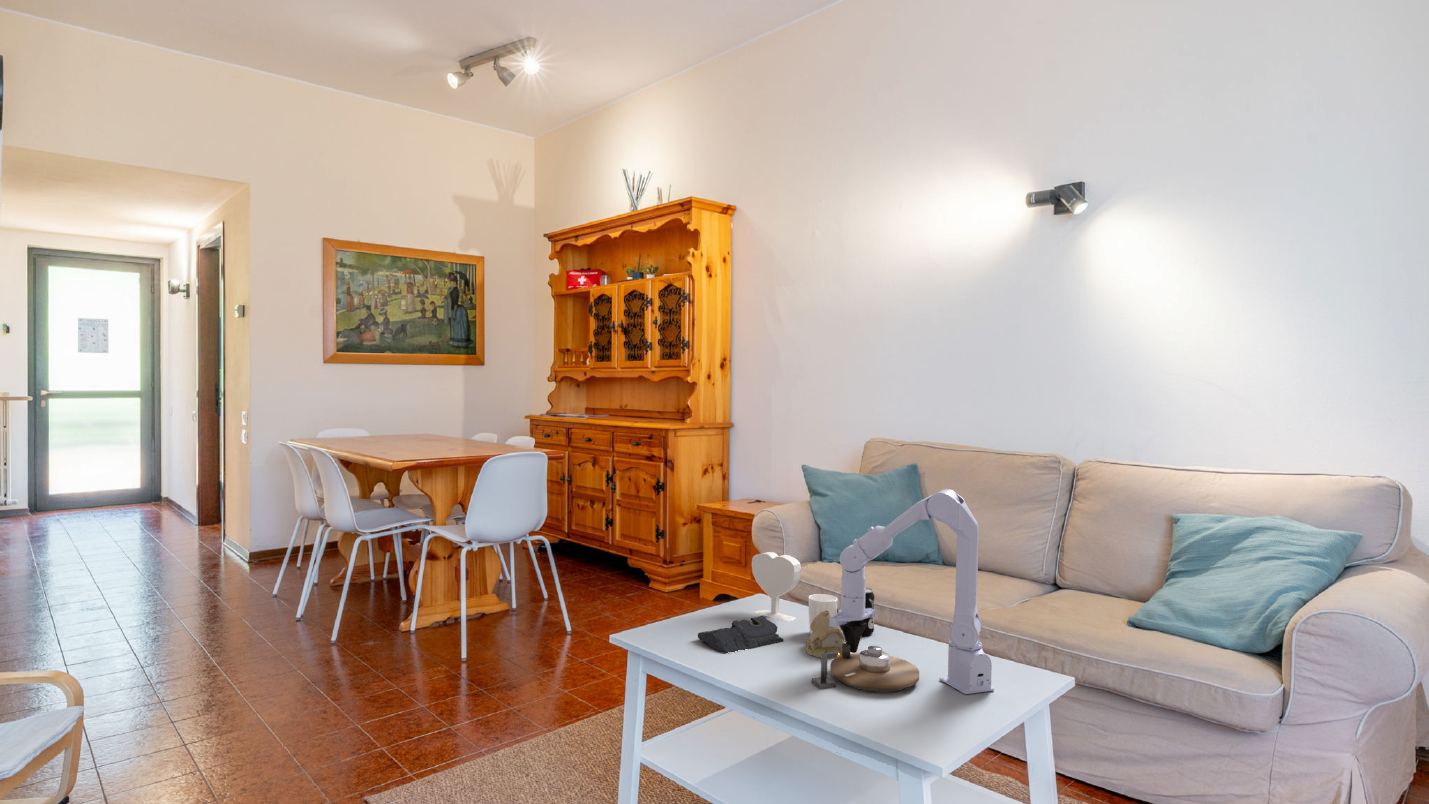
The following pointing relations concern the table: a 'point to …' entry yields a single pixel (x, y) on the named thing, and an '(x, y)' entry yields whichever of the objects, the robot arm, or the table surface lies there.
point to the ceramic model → (824, 636)
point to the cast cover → (874, 660)
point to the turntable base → (874, 689)
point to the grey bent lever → (825, 672)
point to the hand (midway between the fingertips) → (852, 651)
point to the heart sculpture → (775, 579)
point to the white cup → (821, 606)
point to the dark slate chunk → (742, 635)
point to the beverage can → (870, 604)
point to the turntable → (850, 673)
